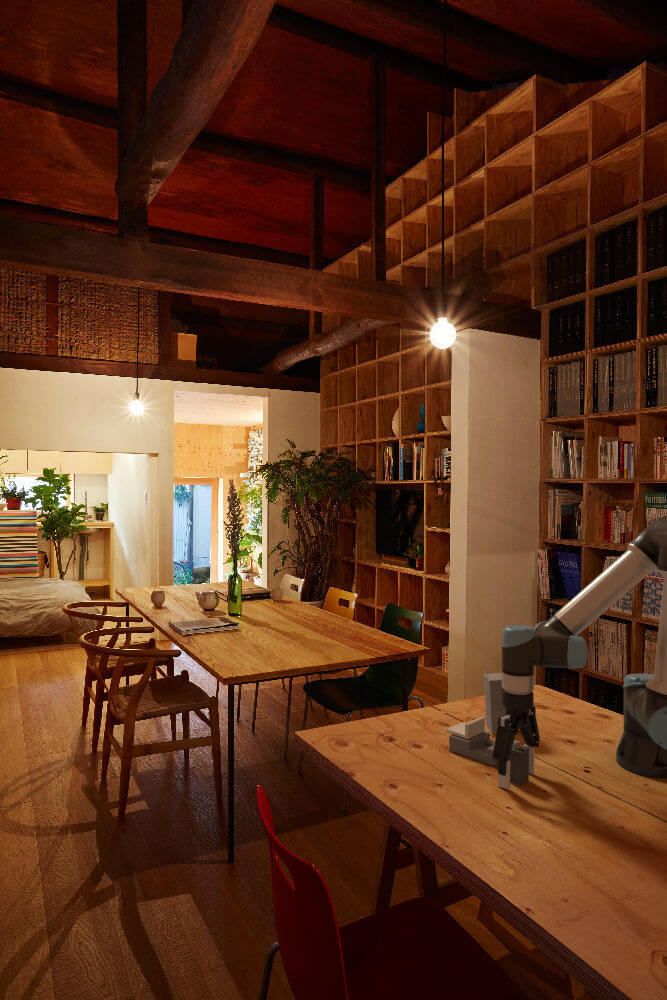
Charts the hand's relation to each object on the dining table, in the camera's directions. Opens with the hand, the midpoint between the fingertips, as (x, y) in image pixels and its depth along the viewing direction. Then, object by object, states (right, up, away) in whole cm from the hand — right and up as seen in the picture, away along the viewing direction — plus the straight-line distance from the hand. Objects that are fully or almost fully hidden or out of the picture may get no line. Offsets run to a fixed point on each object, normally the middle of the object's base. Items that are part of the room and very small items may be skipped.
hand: (516, 779), depth 157 cm
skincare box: (+4, 0, +33) cm, 33 cm away
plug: (0, 0, 0) cm, 0 cm away
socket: (-5, 0, +16) cm, 17 cm away
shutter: (-8, +4, +20) cm, 22 cm away
